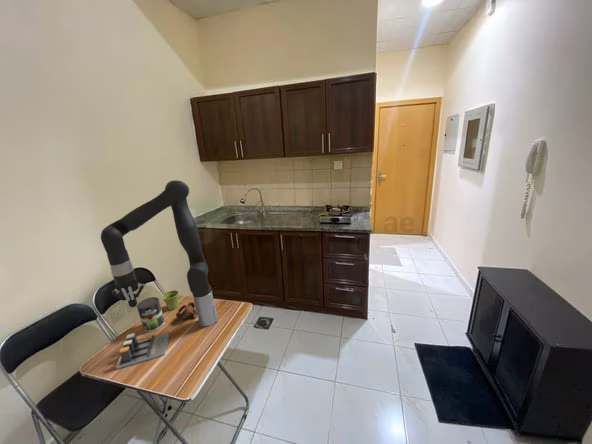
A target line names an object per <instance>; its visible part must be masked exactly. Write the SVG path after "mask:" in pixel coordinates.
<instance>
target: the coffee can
mask: <svg viewBox="0 0 592 444" xmlns="http://www.w3.org/2000/svg"><path fill="white" fill-rule="evenodd" d="M136 309H137V312H138V316H139V319H140V322H141V325H142V329H143V331H144V332H148V333H150V332H154V331H156V330H158V329H160V328H161V327H162V326H164V324H165V323H166V321H165V317H164V315H163V310H162V306H161V303H160V298H159V297H157V296H156V297H155V296H153V297H148V298H145V299H143V300H141V301H139V302H137V305H136Z"/></svg>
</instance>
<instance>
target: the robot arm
mask: <svg viewBox="0 0 592 444" xmlns="http://www.w3.org/2000/svg"><path fill="white" fill-rule="evenodd" d="M189 194H190V188H189V186H188V184H186V182H184V181H181V180H177V179H176V180H174V179H173V180H170V181H169V182H167V183H166V185H165V188H164V190H163V191H162V192H160V193H159V194H158V195H157V196H156V197H154V198H151V200H149V201H147V202H145V203H143V204H141V205H139V206H137V207H136V208H134V209H132V210H131V211H130V212H128V213H127V214H125V215H124V216H123V217H121V218H120V219H118V220H116V221H114V222H112V223H110V224H109V225H107V226H105V227H103V228H102V230H101V233H100V241H101V243H102V246H103V248H104V251H105V252H106V256H107V260H108V263H109V266H110V272H111V275H112V278H113V281H114V284H115V288H114V289H113V291H111V295H112V296H113V297H115V298H117V299H119V300H121V301H123V302H124V301H127V304H128V306H129V307H131V308H135V307H136V308H137V304H138V301H137V298H139V296H140V295H141V292H142V291H143V290H144V287H145V285H146V283H144V282H143V283H141V282H139V281H138V279H137V276H136V273H135V269H134V266H133V263H132V261H131V259H130V255H129V253H128V250H127V249H126V245H125V241H124V236H126V235H127V234H129V233H130V232H132V231H135V230H137V229H139V228H140V227H141V226H144V224H146V223H147V222H149V221H150V220H151V219H153V218H154V217H155V216H157V215H158V214H160V213H161V212H162V211H164V210H166V209H168V208H169V207H171V211H172V215H173V220H174V225H175V229H176V230H175V231H176V233H177V236H178V237H177V238H178V241H179V243H180V245H181V247H182V248H183V250H184V251H185V252H186V254H187V257H188V261H189V262H188V263H189V269H188V271H187V273H186V279H187V283H188V287H189V290H190V292H191V293H192V298H193V303H194V305H195V311H196V312H197V319H198V323H199V326H201V327H210V326H212V325H213V324H215V323H217V322H218V313H217V308H216V303H215V300H214V296H213V290H212V287H211V285H210V284H209V281H208V279H209V278H208V273H209V267H208V263H207V261H206V258H205V256H204V253H203V249H202V244H201V239H200V233H199V229H198V226H197V222H196V221H195V218H194V216H193V214H192V212H191V210H190V207H189V204H188V200H187V197H188V196H189ZM137 289H138V291H137V292H136V290H137Z"/></svg>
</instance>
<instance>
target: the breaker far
mask: <svg viewBox="0 0 592 444" xmlns="http://www.w3.org/2000/svg"><path fill="white" fill-rule="evenodd" d="M125 339H126V340H125V341H128V340H132V341H133V344H134V346H136V345H137V343H138V342H137V341H138V340H137V337H136V333H129V334H127V335H126V337H125Z"/></svg>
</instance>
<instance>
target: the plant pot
mask: <svg viewBox="0 0 592 444" xmlns="http://www.w3.org/2000/svg"><path fill="white" fill-rule="evenodd" d="M179 294H180V291H179V290H177V289H171V290H170V291H167V292H165V293H163V294H162V296H161V299H162V300H163V301H164V303H165V305H166V308H167V309H168V310H169V311H171V310H175V309H177V308H179V307H180V302H179V301H180V300H179Z"/></svg>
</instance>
